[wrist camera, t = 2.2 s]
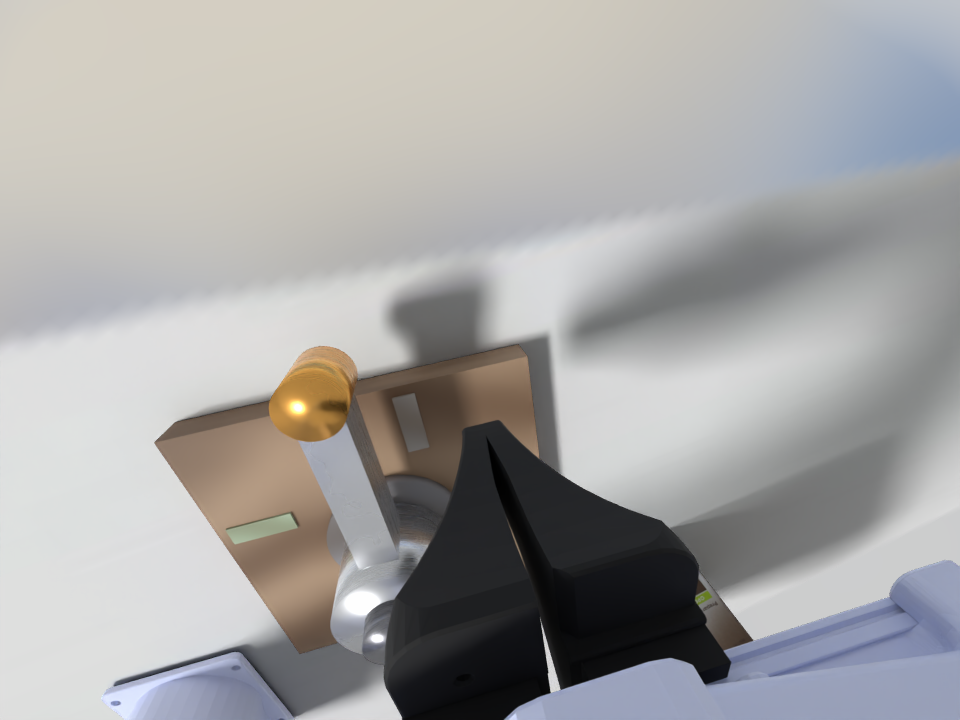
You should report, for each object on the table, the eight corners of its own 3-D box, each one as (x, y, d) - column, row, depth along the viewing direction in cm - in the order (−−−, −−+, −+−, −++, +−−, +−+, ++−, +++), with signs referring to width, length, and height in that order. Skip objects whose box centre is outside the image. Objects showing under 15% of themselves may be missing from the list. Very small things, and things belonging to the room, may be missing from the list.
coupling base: (545, 558, 25) (557, 588, 23) (305, 627, 23) (297, 665, 21) (518, 344, 18) (531, 361, 16) (175, 422, 16) (144, 451, 14)
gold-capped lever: (455, 559, 20) (469, 660, 15) (362, 585, 19) (349, 697, 15) (387, 324, 14) (378, 382, 10) (251, 353, 13) (177, 428, 9)
